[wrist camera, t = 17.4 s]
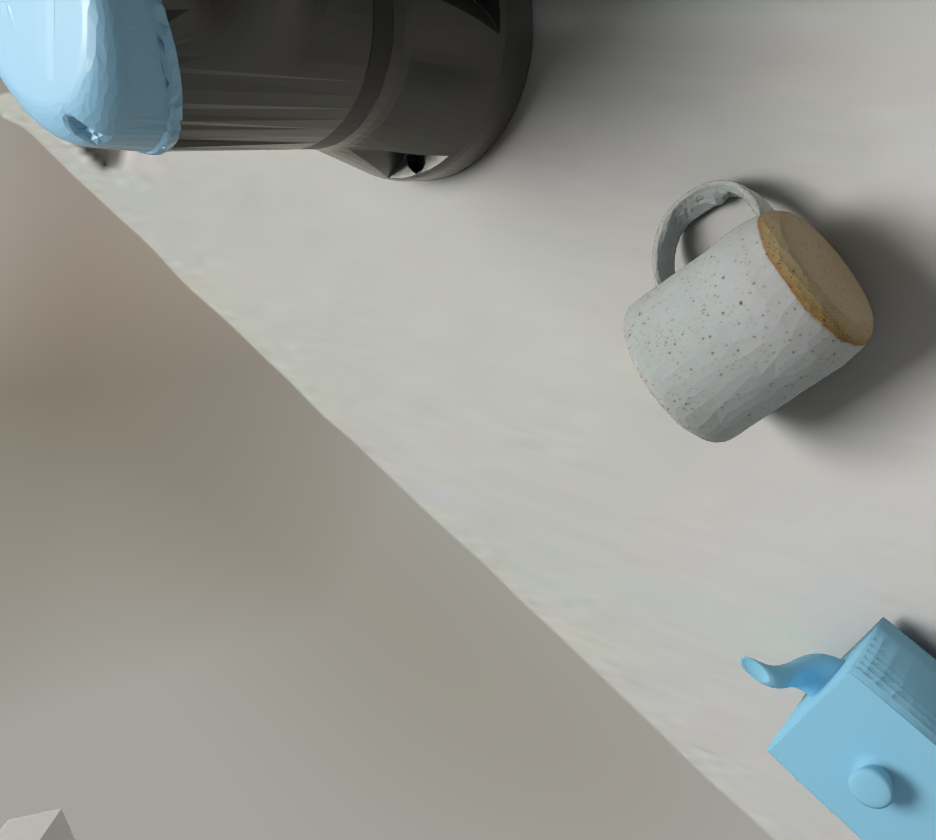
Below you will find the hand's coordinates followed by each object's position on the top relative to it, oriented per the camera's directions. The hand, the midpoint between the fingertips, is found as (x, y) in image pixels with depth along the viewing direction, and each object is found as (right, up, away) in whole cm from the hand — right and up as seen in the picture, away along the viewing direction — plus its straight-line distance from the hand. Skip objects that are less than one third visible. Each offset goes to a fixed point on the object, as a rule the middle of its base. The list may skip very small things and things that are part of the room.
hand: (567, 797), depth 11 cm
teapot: (+19, -8, +31) cm, 37 cm away
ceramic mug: (+12, +11, +30) cm, 35 cm away
